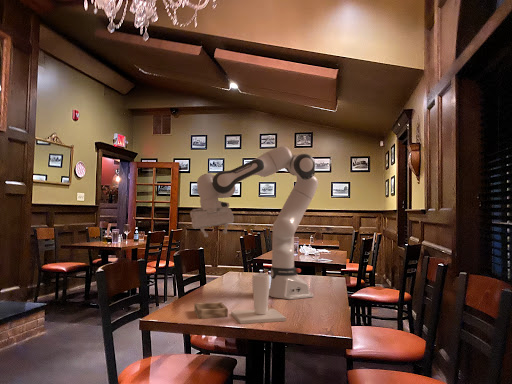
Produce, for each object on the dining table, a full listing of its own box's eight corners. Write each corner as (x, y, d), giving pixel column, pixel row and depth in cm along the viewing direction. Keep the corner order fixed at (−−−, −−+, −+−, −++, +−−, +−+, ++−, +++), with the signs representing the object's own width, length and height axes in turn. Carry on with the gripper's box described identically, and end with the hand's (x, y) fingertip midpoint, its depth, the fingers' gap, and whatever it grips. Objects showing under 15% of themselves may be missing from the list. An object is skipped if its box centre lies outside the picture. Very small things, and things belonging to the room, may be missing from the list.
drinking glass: (251, 310, 150) (251, 273, 150) (268, 310, 150) (268, 272, 151) (253, 315, 143) (252, 276, 144) (270, 315, 144) (270, 276, 144)
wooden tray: (221, 309, 156) (221, 302, 156) (227, 316, 145) (227, 308, 145) (194, 311, 153) (194, 303, 153) (198, 318, 142) (198, 310, 142)
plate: (273, 311, 155) (273, 308, 155) (286, 320, 141) (286, 317, 141) (231, 313, 149) (231, 310, 149) (240, 324, 136) (240, 320, 136)
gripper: (190, 208, 172) (196, 237, 169) (232, 202, 180) (237, 230, 177) (187, 211, 177) (193, 239, 174) (227, 206, 186) (233, 233, 183)
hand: (215, 235), depth 176 cm, fingers open, 8 cm apart
